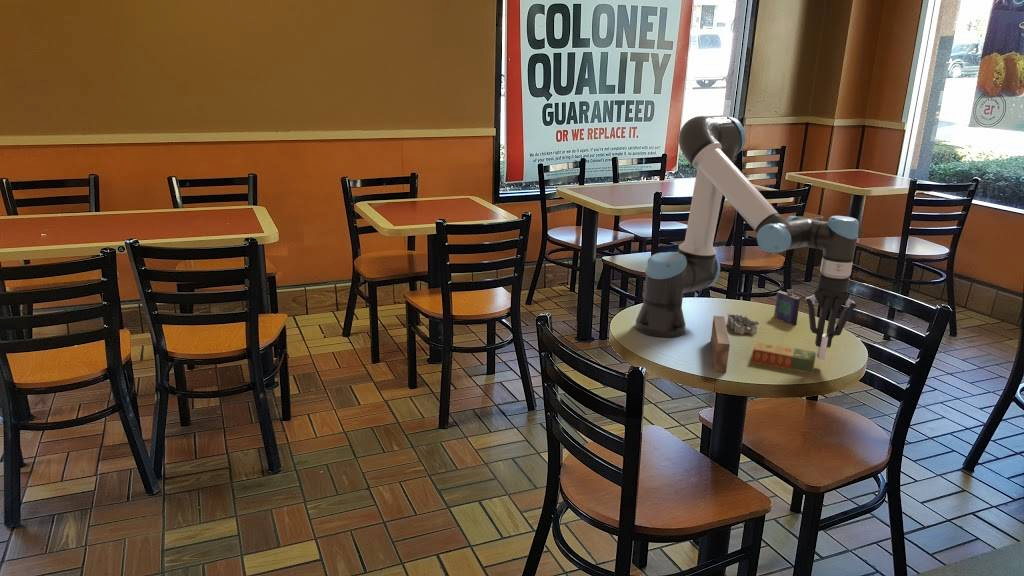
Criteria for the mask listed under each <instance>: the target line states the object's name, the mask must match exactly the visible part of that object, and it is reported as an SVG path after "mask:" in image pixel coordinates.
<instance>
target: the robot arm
mask: <svg viewBox="0 0 1024 576" xmlns="http://www.w3.org/2000/svg"><path fill="white" fill-rule="evenodd" d="M746 137H747V135H746V131H745V128H744V126H743V124H742V123H741V121H739V120H738V119H737V118H735V117H732V116H727V115H706V116H705V115H700V116H694V117H691V118H690V119H688V120H687V121H686V122H684V124H683V125H682V127H681V129H680V131H679V134H678V144H679V145H678V146H679V149H680V152H681V153H682V155H683V157H684V158H685V159H686V160H687V162H688V163H689V164H690V165H691V166H692V167H693V168H694V169H696V170H697V171H696V173H695V179H694V180H695V182H694V186H693V191H692V192H693V193H692V197H691V198H692V199H691V204H690V210H689V213H688V214H689V215H688V221H687V224H686V225H687V226H686V231H685V238H684V241H683V242H682V243H680V244H679V245H678V249H677V252H674V251H667V252H657V253H654V254H652V255H650V256H649V257H648V259H647V262H646V267H645V279H644V291H643V302H642V303H643V304H642V305H641V307H640V310H639V312H638V315H637V317H636V319H635V325H634V326H635V329H636V330H637V331H638V332H640V333H642V334H646V335H648V336H654V337H659V338H675V337H680V336H682V335H684V334H685V333H686V319H685V317H684V312H683V301H684V300H683V299H684V298H683V297H684V294H688V293H692V292H695V291H702V290H705V289H707V288H709V287H711V286H713V285H714V284H715V283H716V281H718V280H719V276H720V273H721V264H720V261H719V259H718V256H717V250H716V248H715V247H714V239H715V235H716V229H717V225H718V220H719V213H720V209H721V204H722V203H721V202H722V198H723V197H724V198H725V199H726V200H727V201H728V202H729V203H730V205H732V207H733V208H734V209H735V210H736V211H737V212H738V213H739V215H740V216H741V217H742V218H743V219H744V221H746V223H747V224H748V225H749V226H750V227H751V228H752V229H753V230H754V232H755V233H756V242H757V245H758V247H759V248H760V249H761V251H763V252H766V253H768V254H769V253H772V254H773V253H783V252H785V251H788V250H793V249H794V250H795V249H798V248H805V247H807V248H812V249H816V250H822V257H821V263H820V270H819V271H820V274H819V275H818V276H819V277H818V282H817V288H816V290H815V291H814V293H813V294H812V295H810V296H805V297H804V300H805V302H806V304H807V311H808V321H809V328H810V331H811V333H812V334H815V335H816V337H815V342H814V344H815V346H816V347H817V351H816V357H817V359H818V360H824V361H825V359H826V353H827V348H831V346H832V343H833V342H832V341H833V338H834V337H835V336H838V337H839V336H840V335H842V332H843V329H844V328H845V326H846V323H847V321H848V319H849V317H850V315H851V312H852V311H853V310H854V309H855V308H856V307H857V304H856V302H855V301H854V300H851V299H850V297H849V293H848V291H849V286H850V282H851V281H850V279H851V278H850V276H851V274H852V268H853V264H854V256H855V252H856V247H857V242H858V241H857V240H858V238H859V226H860V223H859V220H858V219H857V218H854V217H851V216H843V215H831V216H830V217H828V219H827V220H828V221H823V220H818V219H813V218H809V217H805V216H798V215H797V216H796V215H789V216H788V217H786V219H785V218H784V217H783V216H782V215H781V214H780V213H779V212H778V211H777V210H776V209H775V208H774V206H773V205H772V204H771V203H770V202H769V201H768V200H767V199H766V198H765V197H764V196H763V194H762V193H761V192H760V191H759V190H758V189H757V188H756V187H755V185H754V184H753V183H752V182H751V181H750V180H749V179H748V178H747V177H746V176H745V175H744V173H742V171H741V170H740V169H739V168H738V167H737V166H736V165H735V164H734V163H735V159H736V156H737V155H738V154H739V153H740V152H741V151H742V150H743V149H744V147H745V145H746V140H747V138H746ZM816 301H817V302H818V304H819V306H820V308H819V309H820V310H819V317H818V322H817V324H816V313H815V306H814V304H815V303H816ZM843 305H844V308H843V309H842V312H841V314H840V316H839V318H838V321H837V316H838V312H839V309H840V308H841V307H842V306H843ZM829 310H830V311H829ZM828 311H829V317H828V321H827V322H828V323H827V329H826V333H824V332H825V325H826V319H827V313H828ZM836 321H837V323H836Z"/></svg>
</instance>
